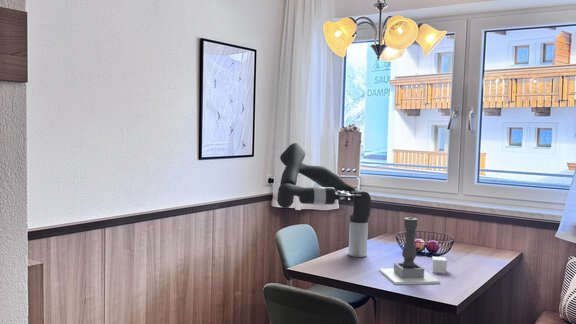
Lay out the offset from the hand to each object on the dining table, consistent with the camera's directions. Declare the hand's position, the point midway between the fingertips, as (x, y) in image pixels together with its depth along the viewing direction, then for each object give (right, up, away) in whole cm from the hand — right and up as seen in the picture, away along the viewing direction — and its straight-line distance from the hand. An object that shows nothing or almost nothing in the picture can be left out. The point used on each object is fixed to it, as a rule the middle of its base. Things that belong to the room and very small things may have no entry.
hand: (359, 195), depth 229 cm
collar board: (+22, -36, 0) cm, 42 cm away
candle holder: (+22, -35, 0) cm, 41 cm away
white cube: (+38, -36, +11) cm, 53 cm away
